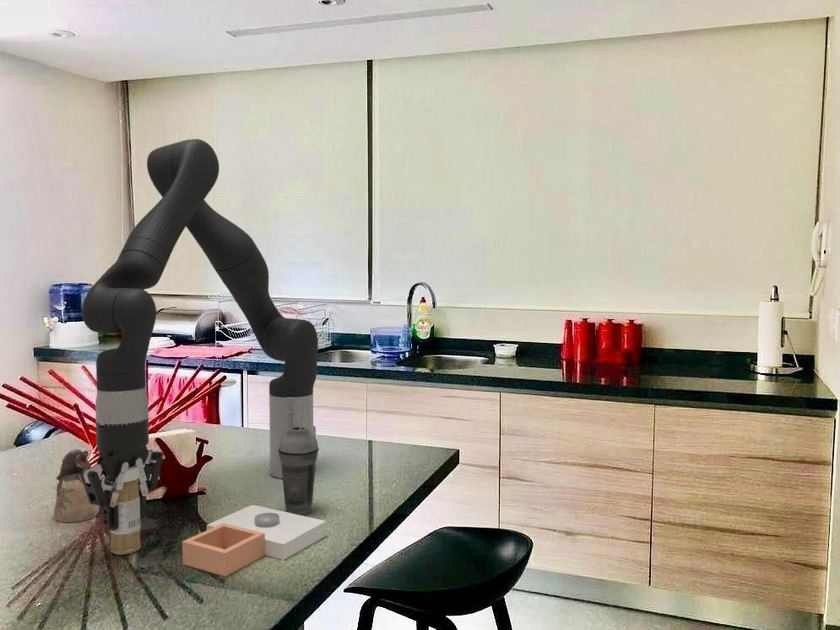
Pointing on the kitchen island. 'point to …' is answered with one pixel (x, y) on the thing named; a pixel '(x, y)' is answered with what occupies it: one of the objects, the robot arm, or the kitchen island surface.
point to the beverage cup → (298, 468)
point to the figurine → (73, 490)
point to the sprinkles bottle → (127, 515)
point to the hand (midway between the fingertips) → (125, 523)
